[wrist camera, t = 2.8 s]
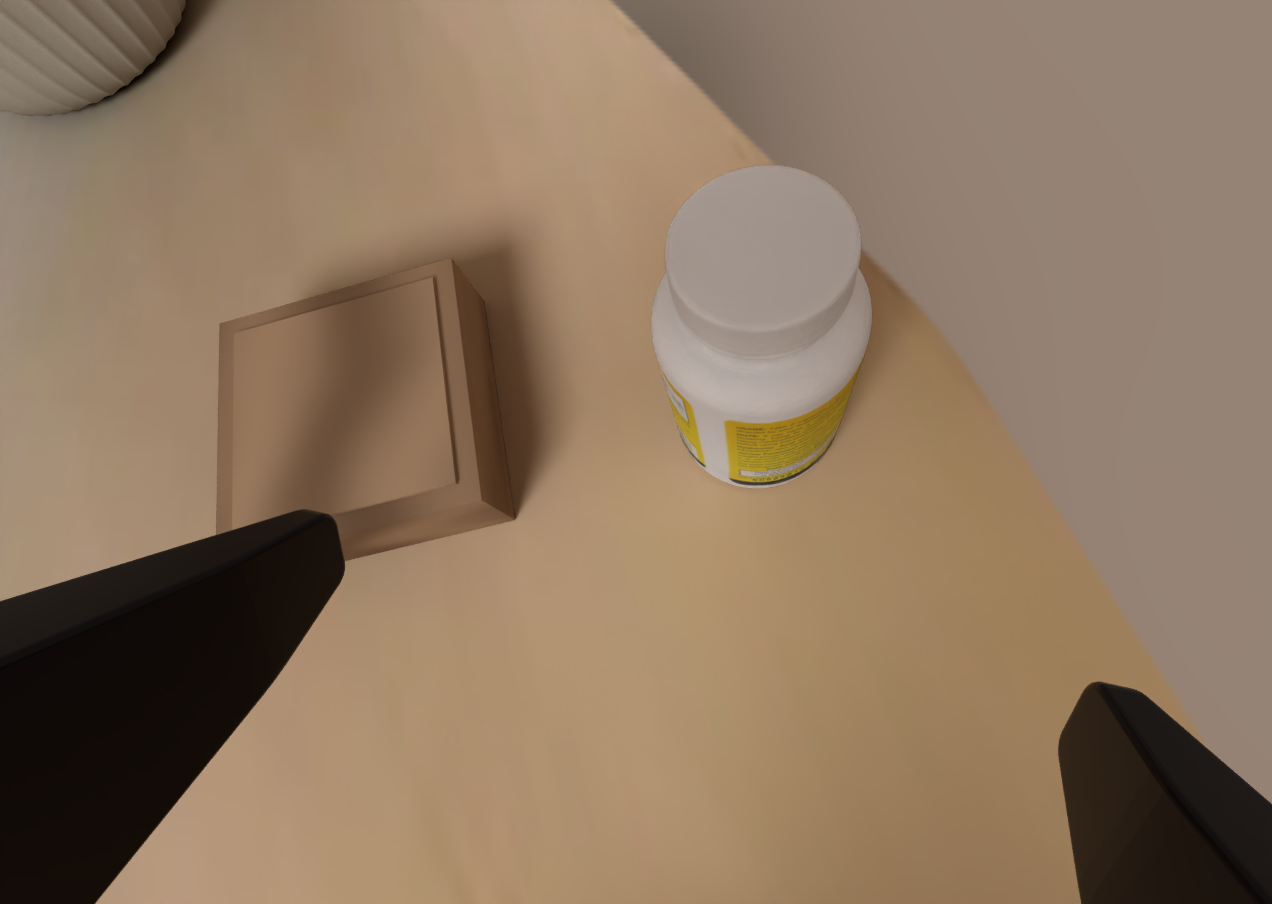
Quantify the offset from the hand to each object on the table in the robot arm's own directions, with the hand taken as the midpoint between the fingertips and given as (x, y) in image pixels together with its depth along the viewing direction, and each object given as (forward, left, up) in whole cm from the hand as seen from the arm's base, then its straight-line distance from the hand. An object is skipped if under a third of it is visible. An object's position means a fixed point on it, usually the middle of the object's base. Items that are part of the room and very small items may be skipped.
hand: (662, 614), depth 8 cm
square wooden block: (-12, +7, -13) cm, 20 cm away
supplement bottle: (+2, +7, -14) cm, 16 cm away
